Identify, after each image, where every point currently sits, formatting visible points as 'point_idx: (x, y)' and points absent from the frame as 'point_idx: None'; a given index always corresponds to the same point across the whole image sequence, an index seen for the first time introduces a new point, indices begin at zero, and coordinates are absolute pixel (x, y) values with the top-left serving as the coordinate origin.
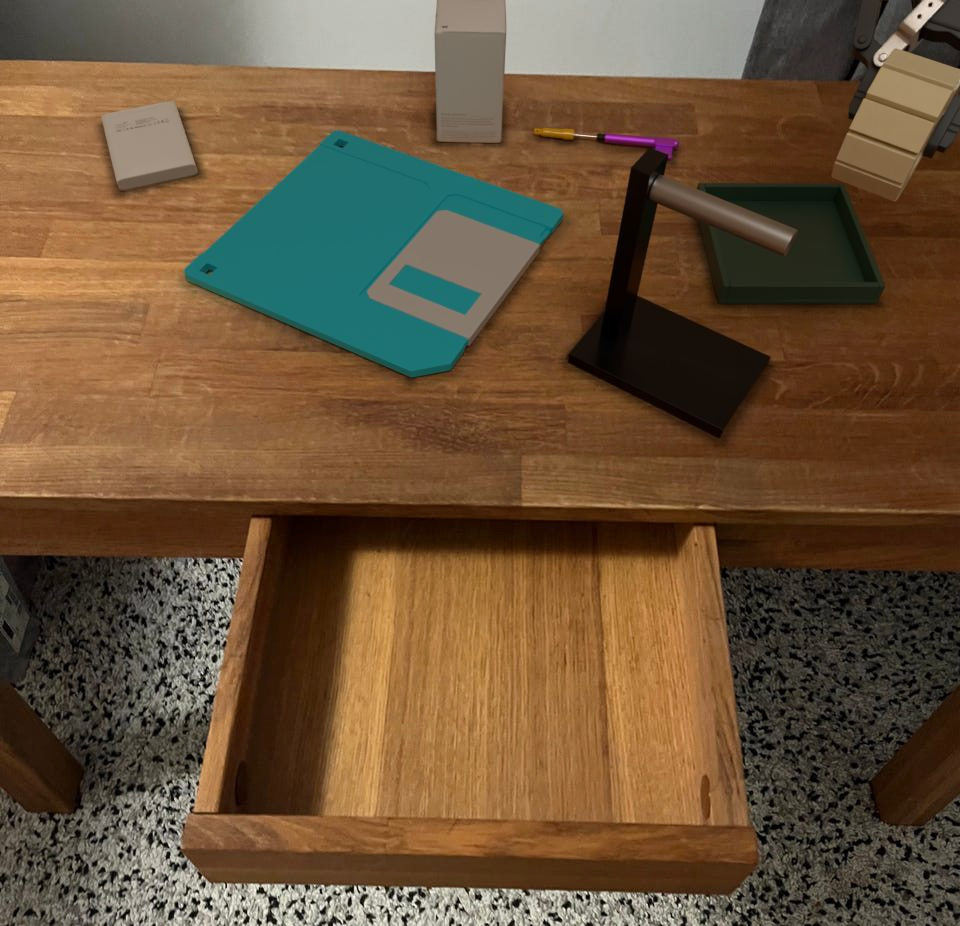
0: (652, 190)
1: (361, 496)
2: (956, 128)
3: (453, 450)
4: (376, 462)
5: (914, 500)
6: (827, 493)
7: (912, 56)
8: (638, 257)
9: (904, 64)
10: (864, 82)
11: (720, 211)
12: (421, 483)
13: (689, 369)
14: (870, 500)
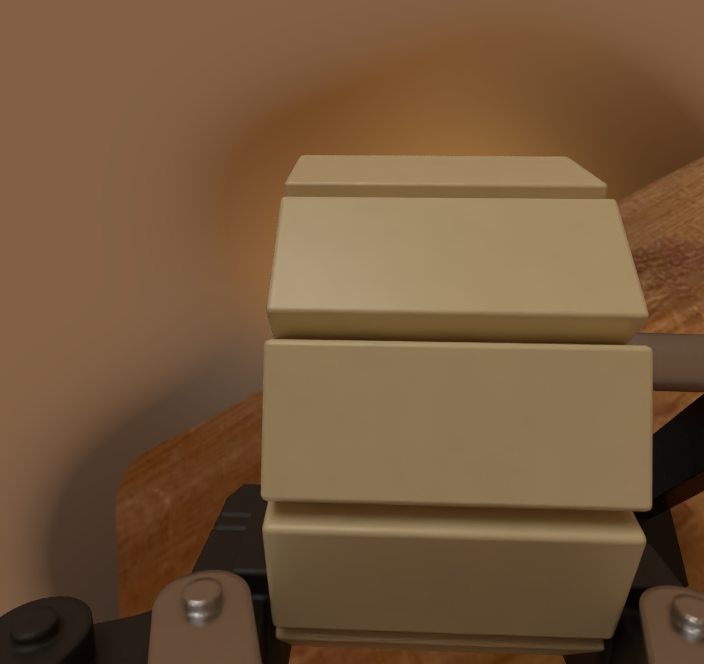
0: None
1: (657, 181)
2: (227, 523)
3: (636, 254)
4: (680, 211)
5: (159, 453)
6: (261, 407)
7: (537, 301)
8: (696, 429)
9: (535, 228)
10: (653, 563)
11: (639, 333)
12: (627, 213)
13: None
14: (211, 424)
